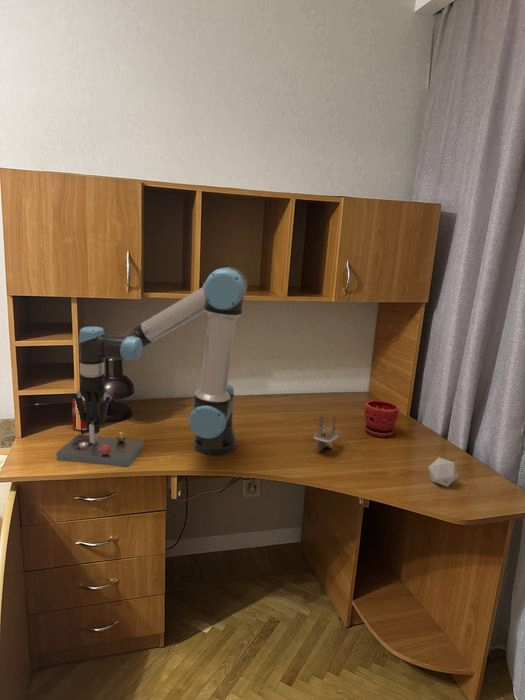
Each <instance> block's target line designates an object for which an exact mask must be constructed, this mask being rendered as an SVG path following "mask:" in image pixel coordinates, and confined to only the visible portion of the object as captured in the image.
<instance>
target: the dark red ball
mask: <svg viewBox="0 0 525 700" xmlns="http://www.w3.org/2000/svg"><path fill="white" fill-rule="evenodd" d="M99 450H100V453H101V454H103V455H107V454H109V453H110V451H111V447H110V446H109V445H108V444H103V445H101V447H100V449H99Z"/></svg>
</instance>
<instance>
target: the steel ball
mask: <svg viewBox="0 0 525 700" xmlns="http://www.w3.org/2000/svg"><path fill="white" fill-rule="evenodd" d="M78 447H82V448H85V447H89V444H88V443H87V442H81V443H80V444H79V445H78Z"/></svg>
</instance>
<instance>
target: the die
mask: <svg viewBox="0 0 525 700" xmlns="http://www.w3.org/2000/svg"><path fill="white" fill-rule="evenodd" d="M427 468H428V472H429V476H430V479H431V482H432V483H435V484H438V485H440V486H443V487H445V488H448V487H449V486H450V485H451V484H452V483H453V482H455V480H457V478H458V477H459V476H458V472H457V469H456V464H455V462H454V461H450V460H448V459H445V458H442V457H438V458H436V459H435V460H434V462H432V463H431V464H430V465H429V466H428V467H427Z"/></svg>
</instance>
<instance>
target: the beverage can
mask: <svg viewBox="0 0 525 700" xmlns="http://www.w3.org/2000/svg"><path fill="white" fill-rule="evenodd" d="M82 398H83V396H82ZM83 402H84V406H85V410H86V405H85V399H84V398H83ZM71 405H72V406H71V408H72V412H71V413H72V428H74V429H75V430H76V411H75V399H74V398H73V400H72V404H71ZM81 429H82V431H81V432H83V431H87V423H86V422H82V421H81Z"/></svg>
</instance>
